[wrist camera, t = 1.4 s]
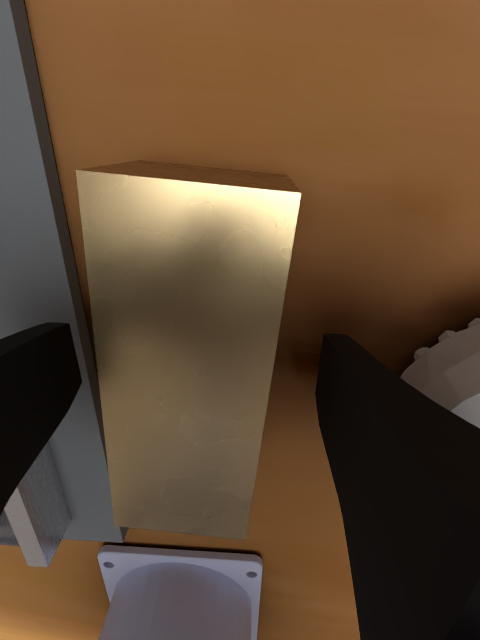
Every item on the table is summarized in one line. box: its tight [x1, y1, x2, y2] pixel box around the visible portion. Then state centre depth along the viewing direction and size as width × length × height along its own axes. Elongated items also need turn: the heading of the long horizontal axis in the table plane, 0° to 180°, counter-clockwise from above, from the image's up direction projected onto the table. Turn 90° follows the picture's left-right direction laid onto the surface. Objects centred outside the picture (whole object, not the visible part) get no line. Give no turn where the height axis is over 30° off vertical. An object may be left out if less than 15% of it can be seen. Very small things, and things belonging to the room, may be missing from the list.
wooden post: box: [76, 160, 301, 540], centre depth 10 cm, size 10×4×4 cm, turn 175°
